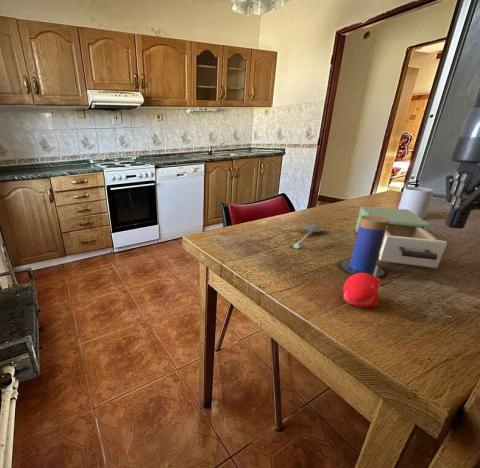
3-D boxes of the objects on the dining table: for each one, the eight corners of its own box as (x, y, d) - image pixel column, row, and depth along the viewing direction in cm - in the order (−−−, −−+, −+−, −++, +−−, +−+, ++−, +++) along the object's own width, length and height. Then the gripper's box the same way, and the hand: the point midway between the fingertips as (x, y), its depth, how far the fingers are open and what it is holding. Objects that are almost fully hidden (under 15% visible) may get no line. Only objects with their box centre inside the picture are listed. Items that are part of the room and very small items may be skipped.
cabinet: (420, 253, 72) (430, 224, 69) (365, 246, 77) (373, 219, 74) (400, 234, 85) (408, 209, 82) (355, 230, 90) (360, 206, 87)
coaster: (378, 264, 67) (378, 262, 67) (389, 281, 60) (389, 279, 59) (338, 258, 71) (338, 257, 71) (343, 274, 63) (344, 272, 63)
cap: (370, 317, 49) (379, 290, 46) (335, 303, 53) (341, 277, 51) (381, 299, 53) (390, 274, 51) (348, 288, 58) (355, 264, 55)
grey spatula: (327, 233, 90) (307, 229, 95) (328, 223, 89) (308, 221, 94) (307, 251, 75) (284, 246, 80) (308, 240, 74) (285, 236, 79)
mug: (423, 221, 97) (433, 192, 93) (394, 216, 103) (402, 189, 99) (426, 214, 104) (435, 187, 100) (398, 210, 110) (406, 184, 106)
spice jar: (371, 264, 66) (385, 216, 62) (377, 274, 62) (392, 223, 57) (346, 260, 68) (358, 214, 64) (350, 270, 64) (363, 220, 59)
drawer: (446, 276, 59) (457, 249, 57) (384, 267, 64) (392, 242, 61) (413, 245, 75) (421, 223, 73) (366, 240, 79) (372, 219, 77)
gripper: (555, 134, 38) (503, 241, 44) (495, 133, 49) (460, 219, 55) (485, 135, 41) (445, 236, 47) (443, 134, 52) (416, 216, 58)
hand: (453, 226), depth 51 cm, fingers closed
